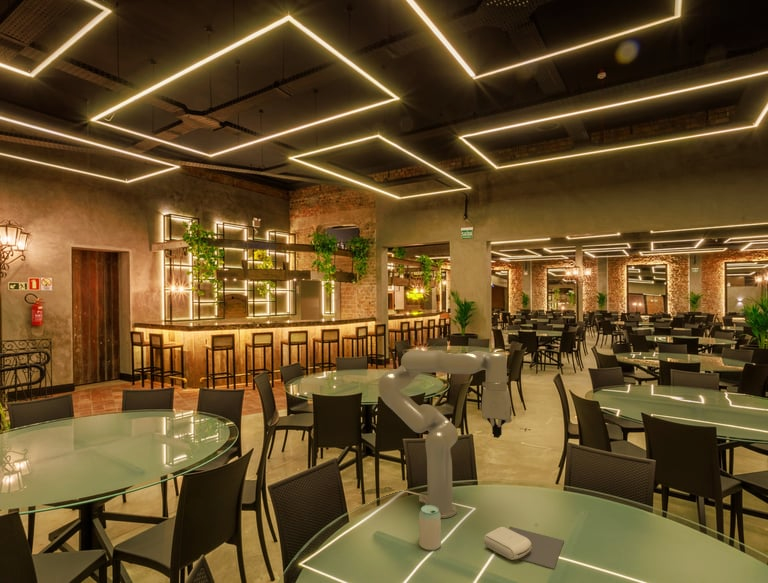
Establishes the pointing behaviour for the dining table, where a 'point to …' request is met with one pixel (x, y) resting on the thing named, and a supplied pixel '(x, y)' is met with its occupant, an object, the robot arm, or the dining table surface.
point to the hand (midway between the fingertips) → (497, 436)
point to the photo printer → (507, 543)
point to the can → (429, 527)
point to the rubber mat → (541, 549)
